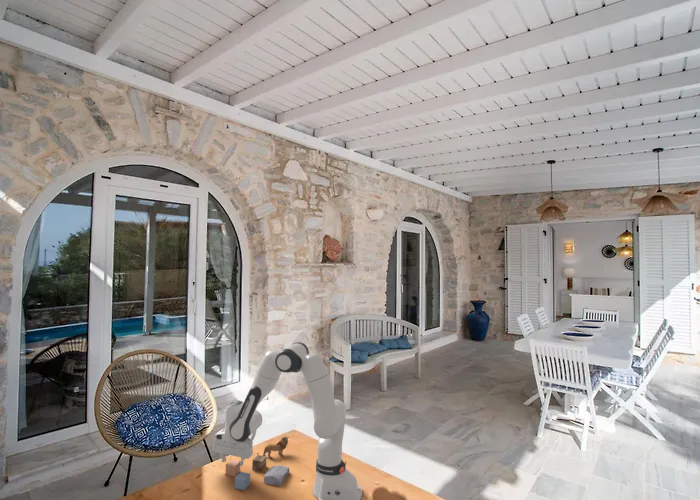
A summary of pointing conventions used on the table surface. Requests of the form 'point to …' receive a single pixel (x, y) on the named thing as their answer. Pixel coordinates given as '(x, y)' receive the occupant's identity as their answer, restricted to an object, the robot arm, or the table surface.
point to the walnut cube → (259, 463)
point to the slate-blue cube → (242, 481)
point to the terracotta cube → (232, 468)
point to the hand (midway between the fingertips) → (232, 463)
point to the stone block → (276, 475)
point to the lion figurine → (276, 447)
